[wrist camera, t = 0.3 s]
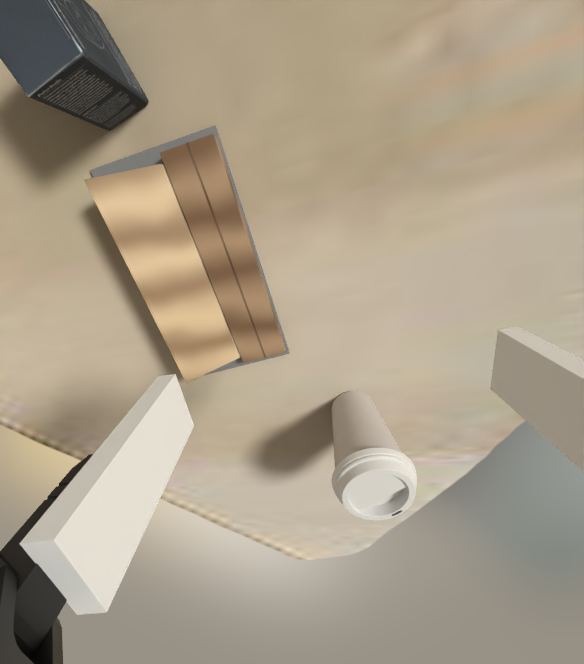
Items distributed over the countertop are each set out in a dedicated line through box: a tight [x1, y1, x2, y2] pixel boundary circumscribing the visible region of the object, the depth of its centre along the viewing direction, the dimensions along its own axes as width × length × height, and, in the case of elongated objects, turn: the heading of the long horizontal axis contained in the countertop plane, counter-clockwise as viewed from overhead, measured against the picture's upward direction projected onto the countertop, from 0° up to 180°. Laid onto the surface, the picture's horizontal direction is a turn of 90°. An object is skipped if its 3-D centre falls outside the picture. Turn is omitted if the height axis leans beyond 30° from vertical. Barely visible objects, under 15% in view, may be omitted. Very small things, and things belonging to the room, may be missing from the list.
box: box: [0, 0, 148, 130], centre depth 24 cm, size 8×6×11 cm
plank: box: [84, 164, 240, 383], centre depth 34 cm, size 24×8×2 cm, turn 16°
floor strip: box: [160, 134, 285, 363], centre depth 35 cm, size 26×6×2 cm, turn 16°
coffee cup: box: [332, 391, 417, 520], centre depth 38 cm, size 10×10×15 cm
